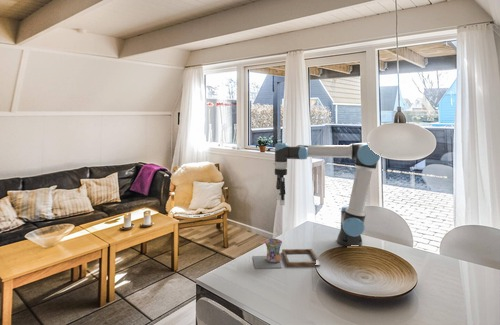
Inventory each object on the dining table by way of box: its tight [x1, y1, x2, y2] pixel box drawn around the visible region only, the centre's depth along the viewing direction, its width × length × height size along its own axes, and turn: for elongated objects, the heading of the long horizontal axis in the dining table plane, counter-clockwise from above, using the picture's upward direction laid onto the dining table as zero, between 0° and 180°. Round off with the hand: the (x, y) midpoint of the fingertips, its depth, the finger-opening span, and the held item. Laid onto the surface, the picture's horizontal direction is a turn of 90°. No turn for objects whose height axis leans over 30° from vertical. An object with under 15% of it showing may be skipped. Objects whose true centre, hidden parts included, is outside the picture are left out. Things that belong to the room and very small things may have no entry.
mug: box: [264, 237, 283, 263], centre depth 161 cm, size 12×9×11 cm
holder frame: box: [281, 248, 319, 268], centre depth 163 cm, size 17×17×2 cm
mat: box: [252, 255, 282, 270], centre depth 159 cm, size 14×14×1 cm
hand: (280, 202), depth 181 cm, fingers open, 13 cm apart
